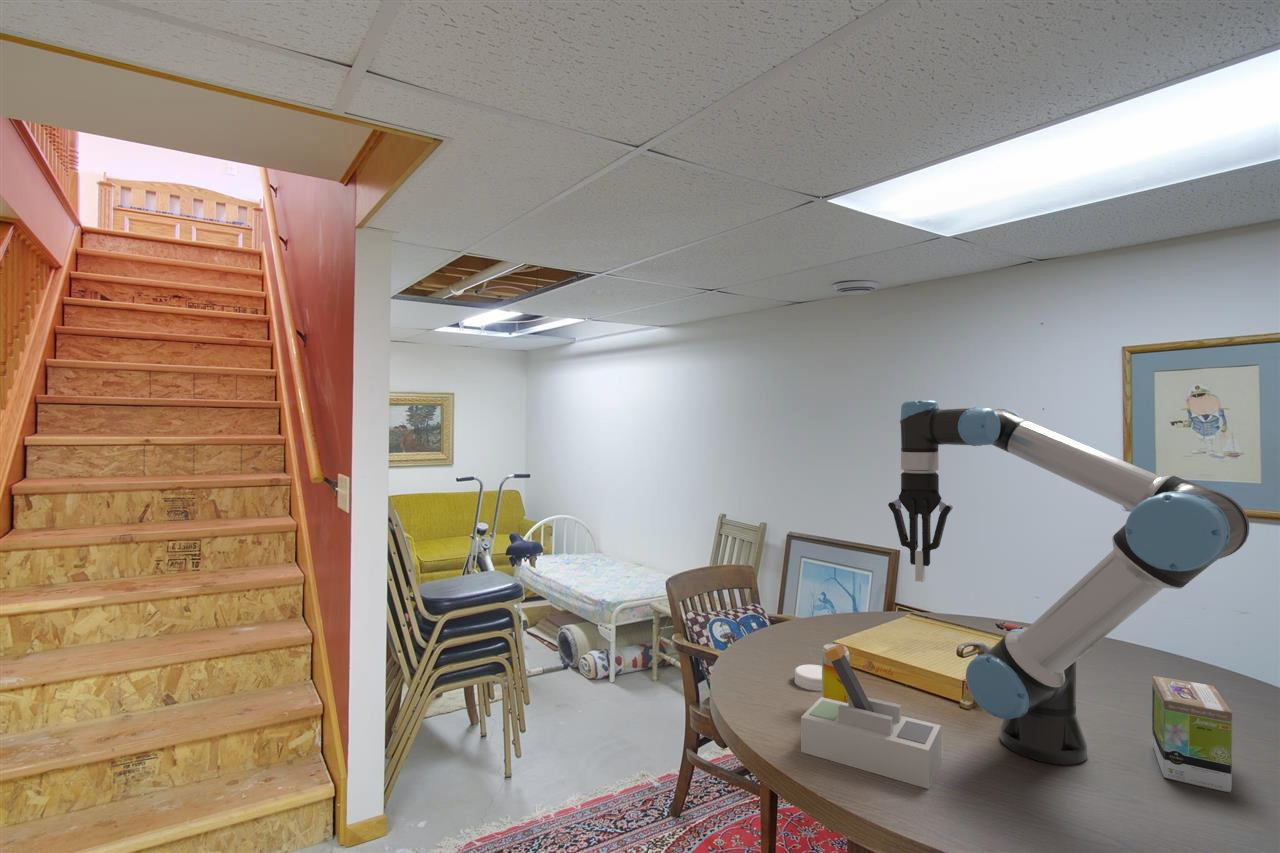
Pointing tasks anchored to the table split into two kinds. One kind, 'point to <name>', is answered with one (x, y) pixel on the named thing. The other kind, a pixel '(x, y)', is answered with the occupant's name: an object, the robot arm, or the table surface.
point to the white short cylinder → (809, 677)
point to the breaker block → (873, 739)
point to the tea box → (1192, 733)
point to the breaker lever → (848, 677)
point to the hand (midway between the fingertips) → (920, 580)
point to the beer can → (832, 678)
